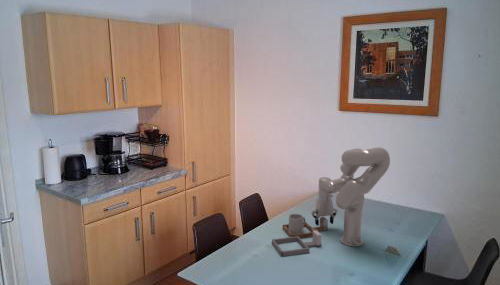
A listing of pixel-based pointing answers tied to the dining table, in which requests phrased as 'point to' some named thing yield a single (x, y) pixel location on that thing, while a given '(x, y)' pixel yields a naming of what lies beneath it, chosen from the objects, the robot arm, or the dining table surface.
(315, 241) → the grey frame with handle
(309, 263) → the dining table surface
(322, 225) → the brown frame with handle
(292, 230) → the mug
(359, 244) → the robot arm
